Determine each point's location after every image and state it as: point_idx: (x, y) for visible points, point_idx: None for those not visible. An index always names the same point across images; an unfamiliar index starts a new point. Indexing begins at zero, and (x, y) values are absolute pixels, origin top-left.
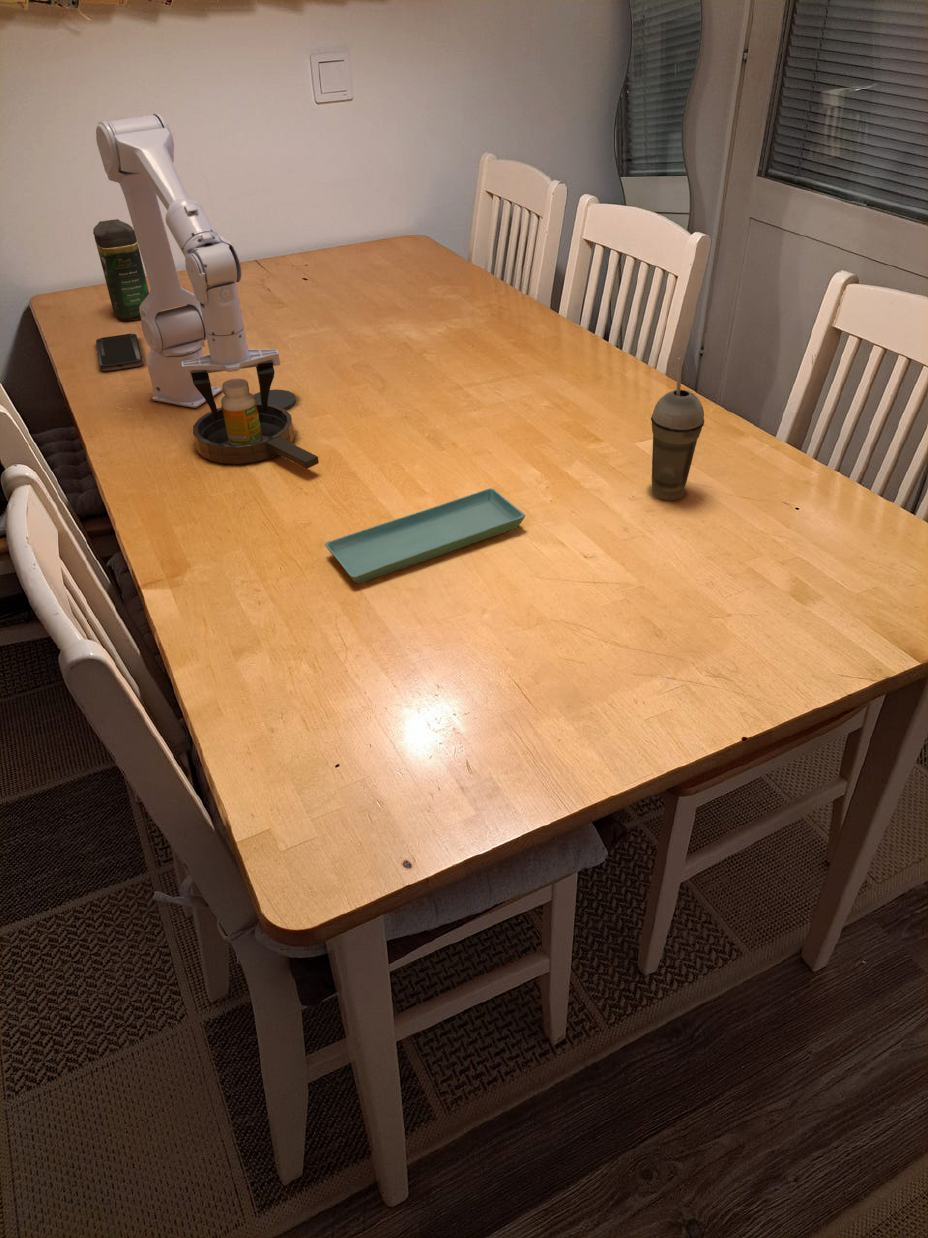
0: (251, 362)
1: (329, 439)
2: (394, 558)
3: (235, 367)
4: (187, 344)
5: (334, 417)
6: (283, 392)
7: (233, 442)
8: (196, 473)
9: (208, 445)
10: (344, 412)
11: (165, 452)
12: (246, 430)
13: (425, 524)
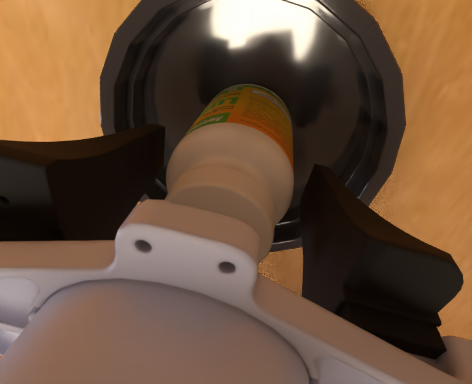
0: (28, 253)
1: (35, 10)
2: None
3: (161, 224)
4: None
5: (28, 127)
6: None
7: (287, 111)
8: (463, 7)
9: (398, 68)
10: (6, 137)
11: (442, 182)
12: (245, 96)
13: None
